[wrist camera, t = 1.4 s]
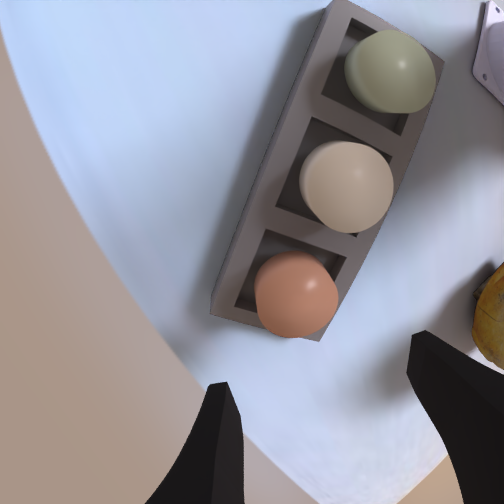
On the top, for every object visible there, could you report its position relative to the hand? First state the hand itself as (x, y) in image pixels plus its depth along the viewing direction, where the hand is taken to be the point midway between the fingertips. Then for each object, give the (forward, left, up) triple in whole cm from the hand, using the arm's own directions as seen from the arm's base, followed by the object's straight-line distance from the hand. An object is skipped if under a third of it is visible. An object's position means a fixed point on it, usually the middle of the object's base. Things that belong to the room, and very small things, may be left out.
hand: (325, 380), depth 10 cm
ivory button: (0, -6, -7) cm, 9 cm away
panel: (0, -6, -9) cm, 11 cm away
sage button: (0, -12, -7) cm, 14 cm away
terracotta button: (0, 0, -7) cm, 7 cm away
